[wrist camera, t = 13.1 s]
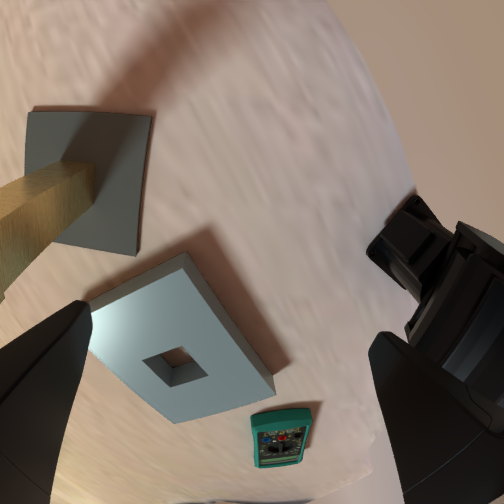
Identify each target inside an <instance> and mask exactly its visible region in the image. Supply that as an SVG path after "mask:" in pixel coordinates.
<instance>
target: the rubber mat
mask: <svg viewBox="0 0 504 504" xmlns="http://www.w3.org/2000/svg"><path fill="white" fill-rule="evenodd" d="M151 121H152V116H143V115H131V114H119V113H102V112H75V111H43V112H28V118H27V128H26V142H25V175H27V174H29V173H32V172H34V171H36V170H38V169H41V168H43V167H45V166H47V165H50V164H52V163H55V162H57V161H59V160H63V161H74V162H83V163H92V164H96V167H95V179H94V194H93V206H92V207H91V208H89V209H88V210H87V211H86V212H85V213H83V214H82V215H81V216H80V217H79V218H78V219H77V220H76V221H74V222H73V223H72V224H71V225H70V226H69V227H68V228H67V229H66V230H64V231H63V232H62V233H61V234H60V235H59V236H58V237H57V238H56V239H55V240H54V241H53V242H56V243H62V244H67V245H72V246H78V247H83V248H89V249H94V250H100V251H106V252H111V253H117V254H123V255H129V256H135V257H136V255H137V247H138V230H139V217H140V205H141V194H142V185H143V176H144V168H145V160H146V153H147V146H148V140H149V133H150V127H151Z"/></svg>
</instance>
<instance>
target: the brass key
mask: <svg viewBox="0 0 504 504" xmlns="http://www.w3.org/2000/svg"><path fill="white" fill-rule="evenodd" d="M95 167H96V164H92V163H83V162H74V161H63V160H59V161H57V162H55V163H52V164H50V165H47V166H45V167H43V168H41V169H38V170H36V171H34V172H32V173H29V174H27V175H25V176H23V177H21V178H19V179H17V180H15V181H13V182H11V183H9V184H7V185H5V186H3V187H1V188H0V304H1V302H2V301H3V300H4V299H5V296H4V292H5V291H6V290H7V288H8V287H9V286H10V285H11V284H12V283H13V282H14V281H15V280H16V278H17V277H18V276H19V275H20V274H21V273H22V272H23V271H24V270H25V269H26V268H27V267H28V266H29V265H30V264H31V263H32V261H33V260H34V259H35V258H36V257H37V256H38V255H39V254H40V253H41V252H42V251H43V250H44V249H45V248H46V247H48V246H49V245H50V244H51V243H52V242H53V241H54V240H55V239H56V238H57V237H58V236H59V235H60V234H61V233H62V232H63V231H64V230H66V229H67V228H68V227H69V226H70V225H71V224H72V223H73V222H74V221H76V220H77V219H78V218H79V217H80V216H81V215H82V214H83V213H85V212H86V211H87V210H88V209H89V208H91V207H92V206H93V194H94V179H95Z"/></svg>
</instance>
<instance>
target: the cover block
mask: <svg viewBox="0 0 504 504" xmlns="http://www.w3.org/2000/svg"><path fill="white" fill-rule="evenodd" d="M88 303H89V304H90V307H91V315H92V322H93V331H92V335H91V339H90V343H89V347H88V349H89V350H90V351H91V352H92V353H93V354H94V355H95V356H96V357H97V358H98V359H99V360H100V361H101V362H102V363H103V364H104V365H105V366H106V367H107V368H108V369H109V370H110V371H111V372H113V373H114V374H115V375H116V376H117V377H118V378H119V379H120V380H121V381H122V382H123V383H124V384H126V385H127V386H128V387H129V388H130V389H131V390H132V391H134V392H135V393H136V394H137V395H138V396H139V397H141V398H142V399H143V400H144V401H145V402H147V403H148V404H149V405H150V406H151V407H153V408H154V409H155V410H156V411H158V412H159V413H160V414H162V415H163V416H164V417H165V418H167V419H168V420H169V421H171V422H172V423H173V424H176V423H181V422H185V421H190V420H194V419H198V418H202V417H206V416H210V415H214V414H217V413H221V412H224V411H228V410H231V409H235V408H238V407H242V406H245V405H248V404H251V403H254V402H257V401H261V400H264V399H267V398H269V397H272V396H275V395H276V391H275V385H274V380H273V376H272V374H271V373H270V372H269V370H268V369H267V368H266V366H265V365H264V363H263V362H262V361H261V359H260V358H259V357H258V355H257V354H256V352H255V351H254V350H253V348H252V347H251V346H250V344H249V343H248V341H247V340H246V338H245V337H244V336H243V334H242V333H241V331H240V330H239V329H238V327H237V326H236V324H235V323H234V321H233V320H232V319H231V317H230V316H229V314H228V313H227V311H226V310H225V308H224V307H223V305H222V304H221V303H220V301H219V300H218V298H217V297H216V295H215V294H214V292H213V291H212V289H211V288H210V286H209V285H208V283H207V282H206V280H205V279H204V277H203V276H202V274H201V273H200V271H199V270H198V268H197V267H196V265H195V263H194V262H193V260H192V259H191V257H190V256H189V254H188V253H187V251H185V252H183V253H181V254H179V255H177V256H175V257H173V258H171V259H169V260H167V261H165V262H163V263H162V264H160V265H158V266H156V267H154V268H152V269H150V270H148V271H146V272H144V273H142V274H140V275H138V276H136V277H134V278H132V279H130V280H128V281H126V282H125V283H123V284H121V285H119V286H117V287H115V288H113V289H111V290H109V291H107V292H106V293H104V294H102V295H100V296H98V297H96V298H94V299H92V300H90V301H89V302H88ZM180 346H182V347H183V348H184V349H185V350H186V351H187V352H188V353H189V354H190V356H191V357H192V358H193V359H194V360H195V361H192V362H189V363H186V364H183V365H181V366H178V367H175V368H172V367H171V366H170V365H169V364H168V363H167V362H166V361H165V360H164V359H163V358H162V356H161V355H160V354H161V353H163V352H166V351H169V350H172V349H174V348H177V347H180Z"/></svg>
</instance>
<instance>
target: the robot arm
mask: <svg viewBox="0 0 504 504" xmlns="http://www.w3.org/2000/svg"><path fill="white" fill-rule="evenodd" d="M416 199H417V202H416V203H415V200H416ZM372 251H374V253H373V254H371V252H372ZM366 255H367V256H368V257H369V258H370V259H371V260H372V261H373V262H374V263H375V264H376V265H378V266H379V267H380V268H381V269H382V270H383V271H384V272H385V273H387V274H388V275H389V276H390V277H391V278H392V279H393V280H394V281H395V282H396V283H398V284H399V285H400V286H401V287H402V288H403V289H405V290H406V289H407V290H408V291H409V293H410V294H411V295H412V296H413V297H414V298H415V300H416V301H417V302H418V303H419V306H418V308H417V310H416V311H415V313H414V315H413V316H412V318H411V320H410V321H409V322H407V324H406V326H405V327H404V329H405V332H406V336H407V340H408V343H409V344H408V343H406V342H405V341H404V340H402V339H401V338H399V337H398V336H396V335H395V334H393V333H392V332H389V331H381V332H379V333H378V334H377V336H376V338H375V339H374V341H373V343H372V345H371V346H370V348H369V351H368V357H369V361H370V366H371V371H372V375H373V380H374V385H375V390H376V394H377V398H378V401H379V404H380V408H381V411H382V414H383V418H384V421H385V425H386V428H387V432H388V436H389V439H390V443H391V447H392V451H393V455H394V458H395V462H396V466H397V471H398V474H399V479H400V483H401V488H402V492H403V493H404V494H403V498H404V502H405V504H504V244H503V243H502V242H500V241H499V240H497V239H496V238H494V237H492V236H491V235H488V234H487V233H484V232H482V231H480V230H478V229H476V228H474V227H472V226H470V225H467V224H465V223H463V222H461V221H458V223H457V225H456V231H455V234H453V233H452V232H450V231H449V230H447V229H446V228H445V227H443V226H442V225H441V223H440V222H439V220H438V219H437V218H436V216H435V215H434V214H433V212H432V211H431V210H430V208H429V207H428V206H427V205H426V203H425V202H424V201H423V199H422V198H421V197H420V196H418V195H413V196H412V197H411V198H410V199H409V200H408V201H407V203H406V204H405V205H404V206H403V208H402V209H401V210H400V211H399V212H398V213H397V215H396V216H395V217H394V218H393V219H392V220H391V222H390V223H389V224H388V225H387V226H386V228H385V229H384V230H383V231H382V232H381V234H380V235H379V236H378V237H377V238H376V239H375V240H374V242H373V243H372V244H371V245H370V246H369V247H368V249H367V250H366ZM92 331H93V322H92V315H91V307H90V304H89V303H88V302H85V301H80V300H75V301H73V302H72V303H70V304H69V305H67V306H65V307H64V308H62V309H61V310H59V311H57V312H56V313H54V314H53V315H51V316H49V317H48V318H46V319H45V320H43V321H42V322H40V323H39V324H37V325H35V326H34V327H32V328H31V329H29V330H28V331H26V332H25V333H23V334H22V335H20V336H19V337H17V338H16V339H14V340H13V341H11V342H10V343H8V344H7V345H5V346H4V347H2V348H1V349H0V504H50V498H51V497H50V495H51V491H52V486H53V480H54V475H55V471H56V466H57V462H58V457H59V453H60V449H61V445H62V441H63V437H64V433H65V429H66V426H67V422H68V419H69V415H70V412H71V408H72V405H73V402H74V399H75V396H76V392H77V389H78V386H79V383H80V380H81V377H82V373H83V369H84V364H85V360H86V356H87V351H88V347H89V343H90V339H91V335H92Z"/></svg>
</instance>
